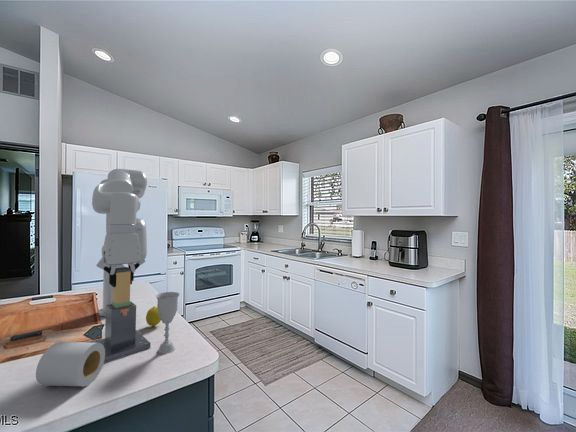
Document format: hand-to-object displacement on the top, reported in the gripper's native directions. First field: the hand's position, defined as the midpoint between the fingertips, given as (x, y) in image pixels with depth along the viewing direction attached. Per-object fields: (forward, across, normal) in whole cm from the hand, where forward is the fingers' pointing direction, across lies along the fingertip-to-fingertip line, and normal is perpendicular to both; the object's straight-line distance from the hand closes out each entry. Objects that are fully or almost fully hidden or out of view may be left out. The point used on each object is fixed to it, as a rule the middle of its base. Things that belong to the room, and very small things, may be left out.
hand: (121, 284), depth 88 cm
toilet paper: (+21, +14, +12) cm, 28 cm away
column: (+14, 0, 0) cm, 14 cm away
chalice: (+21, -10, +12) cm, 26 cm away
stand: (+21, 0, 0) cm, 21 cm away
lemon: (+21, -14, -9) cm, 27 cm away
